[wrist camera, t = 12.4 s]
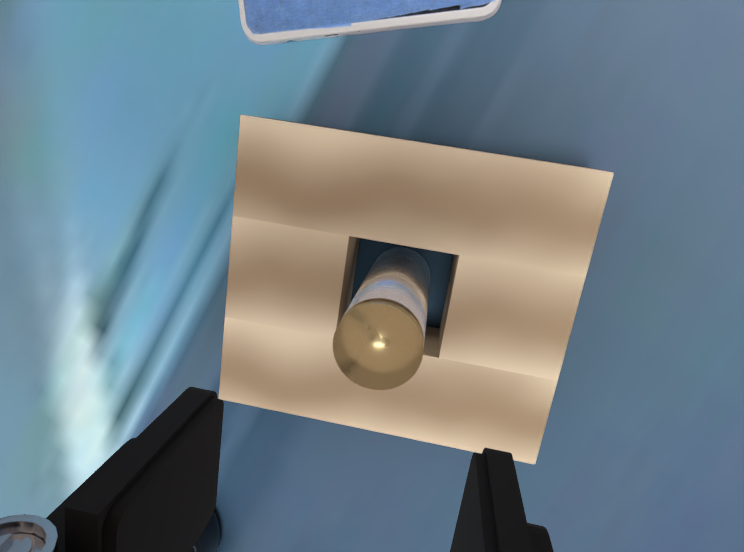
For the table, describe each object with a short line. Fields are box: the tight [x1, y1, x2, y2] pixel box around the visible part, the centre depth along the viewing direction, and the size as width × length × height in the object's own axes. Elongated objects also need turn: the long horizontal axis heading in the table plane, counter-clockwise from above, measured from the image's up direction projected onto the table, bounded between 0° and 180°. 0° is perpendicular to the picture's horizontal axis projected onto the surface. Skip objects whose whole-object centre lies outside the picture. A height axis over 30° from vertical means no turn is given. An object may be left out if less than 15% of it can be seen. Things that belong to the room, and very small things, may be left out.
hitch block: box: [219, 115, 614, 464], centre depth 26 cm, size 14×16×4 cm
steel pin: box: [333, 247, 431, 390], centre depth 23 cm, size 3×3×10 cm
